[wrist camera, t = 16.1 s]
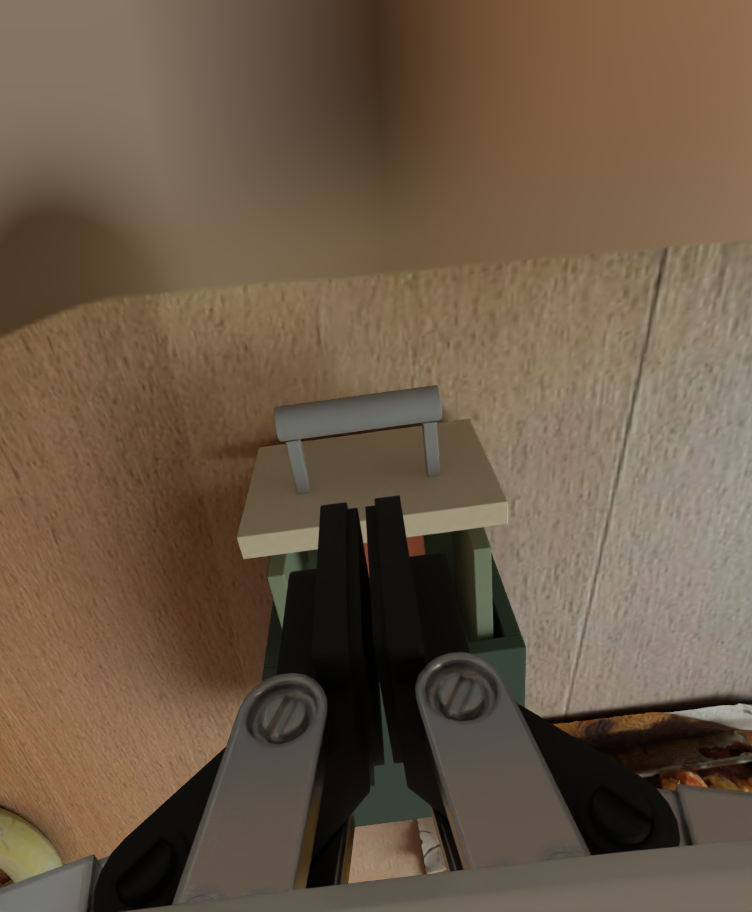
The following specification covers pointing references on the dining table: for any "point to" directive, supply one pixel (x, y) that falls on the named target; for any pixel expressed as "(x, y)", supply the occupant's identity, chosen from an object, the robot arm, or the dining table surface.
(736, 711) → the food tray
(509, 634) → the cabinet
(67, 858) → the dining table surface
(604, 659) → the dining table surface
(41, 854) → the fruit
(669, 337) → the dining table surface
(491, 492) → the drawer
